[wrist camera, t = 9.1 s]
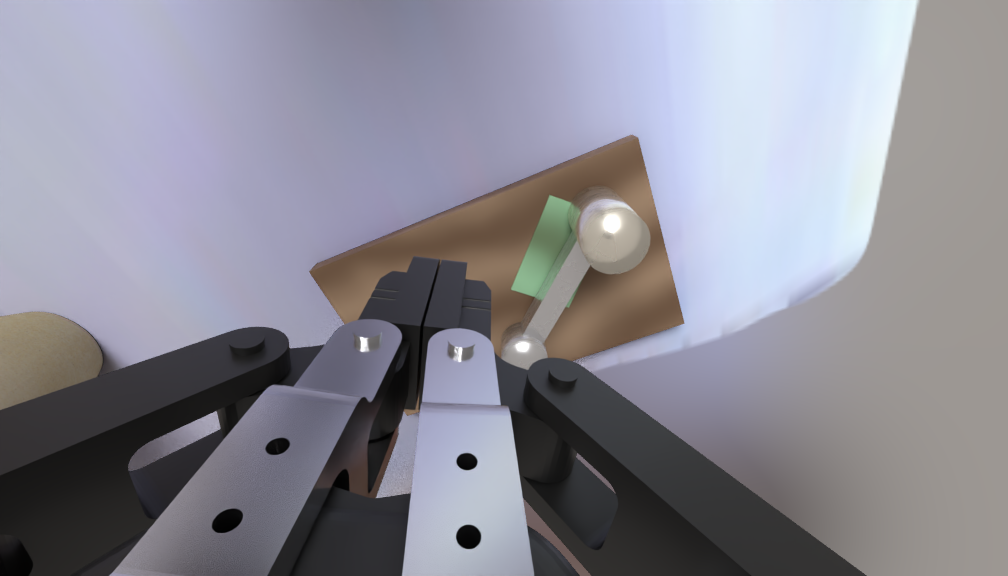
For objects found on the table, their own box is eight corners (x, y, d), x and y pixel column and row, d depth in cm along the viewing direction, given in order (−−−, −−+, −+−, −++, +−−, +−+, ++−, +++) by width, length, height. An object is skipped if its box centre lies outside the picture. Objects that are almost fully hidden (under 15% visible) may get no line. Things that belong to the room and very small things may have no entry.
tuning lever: (585, 176, 30) (605, 200, 24) (634, 200, 31) (663, 227, 25) (491, 348, 36) (491, 397, 31) (534, 364, 37) (541, 414, 32)
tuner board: (316, 263, 35) (308, 272, 33) (631, 134, 30) (638, 138, 29) (410, 404, 41) (407, 417, 40) (677, 314, 37) (685, 324, 36)
